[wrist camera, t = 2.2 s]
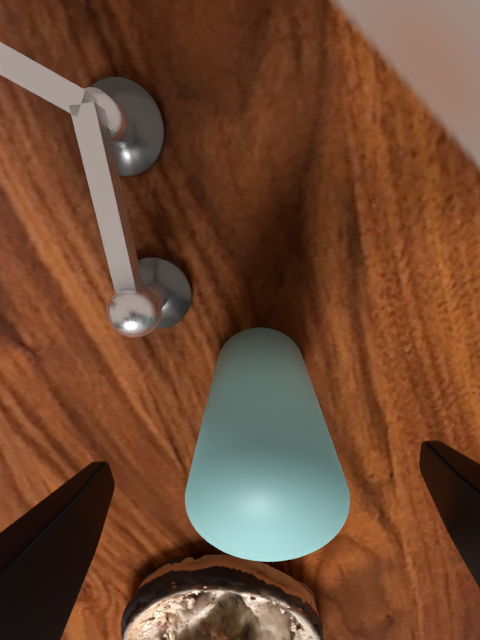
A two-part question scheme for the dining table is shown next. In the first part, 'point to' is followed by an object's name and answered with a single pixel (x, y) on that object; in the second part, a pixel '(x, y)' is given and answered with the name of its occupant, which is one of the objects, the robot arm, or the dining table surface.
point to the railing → (115, 185)
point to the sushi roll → (220, 603)
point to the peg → (265, 455)
